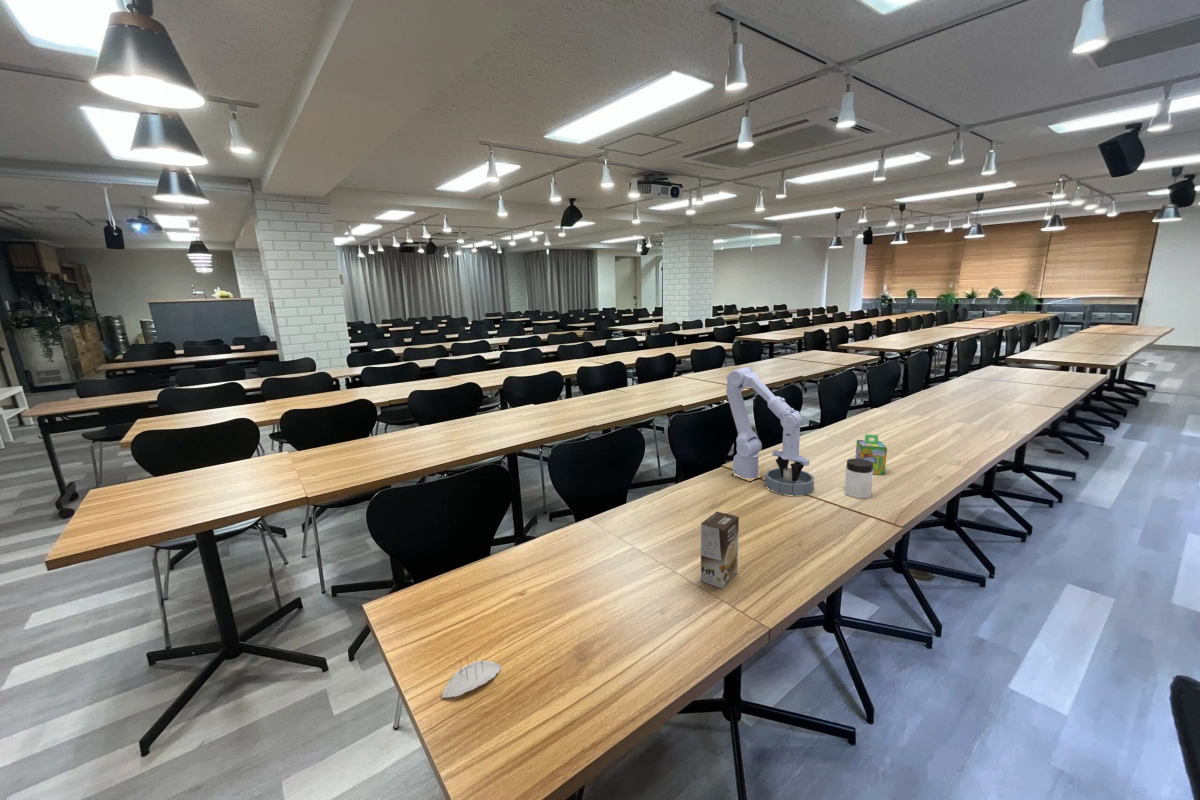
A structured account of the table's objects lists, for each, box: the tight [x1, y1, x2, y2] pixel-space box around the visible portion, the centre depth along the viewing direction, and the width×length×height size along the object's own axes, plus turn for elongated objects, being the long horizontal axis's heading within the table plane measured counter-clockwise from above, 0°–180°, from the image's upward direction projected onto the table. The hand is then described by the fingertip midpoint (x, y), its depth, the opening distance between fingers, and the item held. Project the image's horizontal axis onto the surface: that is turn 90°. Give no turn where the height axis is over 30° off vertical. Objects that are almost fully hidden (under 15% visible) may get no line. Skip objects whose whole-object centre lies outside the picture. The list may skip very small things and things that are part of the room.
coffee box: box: [700, 511, 740, 589], centre depth 121 cm, size 9×6×16 cm
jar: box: [844, 458, 874, 499], centre depth 167 cm, size 9×8×12 cm
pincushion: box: [441, 657, 502, 699], centre depth 91 cm, size 12×6×6 cm, turn 126°
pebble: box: [783, 467, 796, 484], centre depth 175 cm, size 4×4×5 cm
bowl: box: [764, 467, 815, 497], centre depth 176 cm, size 17×17×4 cm
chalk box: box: [854, 434, 888, 476], centre depth 187 cm, size 9×9×15 cm
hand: (789, 478), depth 176 cm, fingers closed on pebble, 4 cm apart
